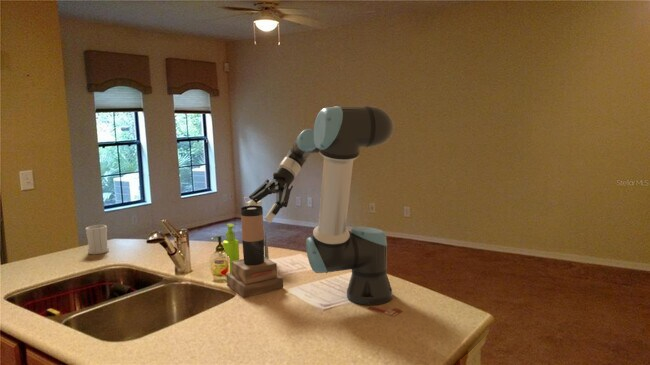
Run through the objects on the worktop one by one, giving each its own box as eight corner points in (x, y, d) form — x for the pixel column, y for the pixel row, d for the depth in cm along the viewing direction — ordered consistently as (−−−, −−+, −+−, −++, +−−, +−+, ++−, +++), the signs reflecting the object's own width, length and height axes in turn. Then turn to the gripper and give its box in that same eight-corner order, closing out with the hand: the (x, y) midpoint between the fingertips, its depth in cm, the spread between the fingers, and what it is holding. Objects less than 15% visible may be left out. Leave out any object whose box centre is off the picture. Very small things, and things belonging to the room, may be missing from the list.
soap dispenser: (227, 277, 178) (225, 226, 175) (223, 272, 184) (220, 223, 181) (242, 275, 181) (240, 224, 178) (237, 270, 187) (235, 221, 184)
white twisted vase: (251, 264, 193) (247, 198, 189) (244, 260, 200) (240, 195, 196) (269, 261, 197) (267, 196, 194) (262, 256, 204) (259, 193, 201)
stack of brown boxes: (283, 288, 166) (282, 263, 165) (244, 297, 158) (242, 272, 156) (264, 276, 178) (263, 253, 177) (227, 285, 170) (225, 261, 169)
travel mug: (267, 259, 170) (264, 205, 167) (262, 265, 163) (259, 209, 160) (246, 259, 171) (244, 205, 168) (240, 265, 163) (238, 209, 161)
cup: (80, 254, 215) (77, 228, 213) (93, 248, 224) (91, 224, 222) (101, 254, 213) (98, 229, 211) (113, 249, 222) (111, 224, 220)
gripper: (314, 181, 168) (283, 229, 160) (272, 176, 186) (242, 219, 177) (302, 167, 163) (270, 217, 155) (260, 164, 181) (229, 208, 173)
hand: (255, 218), depth 166 cm, fingers open, 13 cm apart
